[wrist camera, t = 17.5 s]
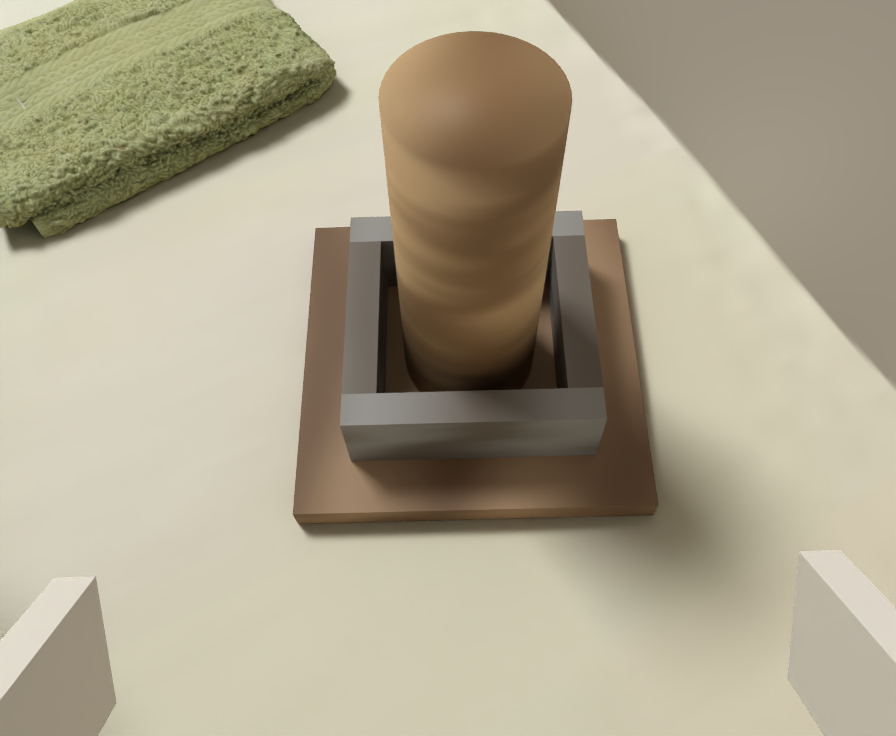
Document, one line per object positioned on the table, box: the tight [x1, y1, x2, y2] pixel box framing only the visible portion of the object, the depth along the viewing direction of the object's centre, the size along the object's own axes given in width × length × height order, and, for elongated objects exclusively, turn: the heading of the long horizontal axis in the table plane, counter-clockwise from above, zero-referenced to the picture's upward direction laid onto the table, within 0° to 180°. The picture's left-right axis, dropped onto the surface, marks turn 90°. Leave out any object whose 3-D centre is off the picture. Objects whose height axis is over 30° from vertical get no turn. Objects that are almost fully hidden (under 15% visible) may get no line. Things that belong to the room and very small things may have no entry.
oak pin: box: [379, 31, 572, 392], centre depth 27 cm, size 5×5×13 cm
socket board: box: [293, 211, 658, 524], centre depth 32 cm, size 13×13×4 cm
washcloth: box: [0, 0, 336, 238], centre depth 41 cm, size 13×18×3 cm
